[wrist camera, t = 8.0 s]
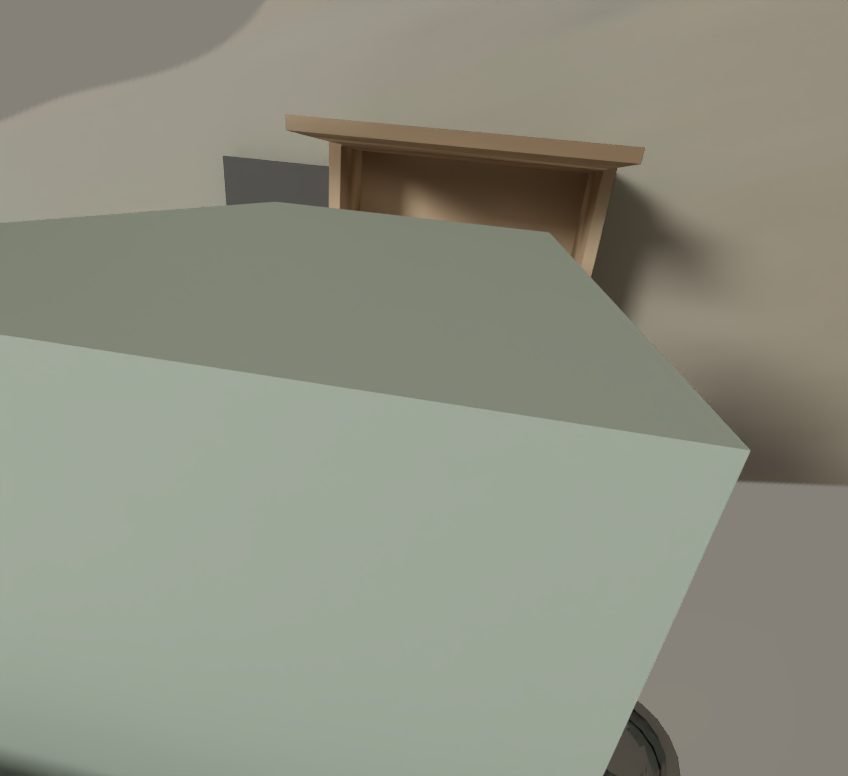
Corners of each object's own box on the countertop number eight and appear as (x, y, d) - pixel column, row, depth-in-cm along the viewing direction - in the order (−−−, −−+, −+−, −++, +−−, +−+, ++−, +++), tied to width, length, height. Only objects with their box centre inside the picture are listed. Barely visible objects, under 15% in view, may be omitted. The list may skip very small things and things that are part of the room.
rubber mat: (231, 156, 28) (222, 155, 28) (341, 168, 28) (336, 167, 27) (244, 341, 33) (237, 346, 32) (338, 355, 33) (333, 360, 32)
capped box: (275, 201, 9) (-492, 259, 2) (549, 232, 9) (758, 454, 2) (289, 566, 14) (42, 1006, 6) (477, 604, 13) (441, 1135, 6)
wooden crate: (355, 139, 27) (269, 111, 17) (600, 162, 26) (663, 147, 16) (348, 377, 33) (282, 459, 23) (545, 407, 32) (565, 508, 22)
